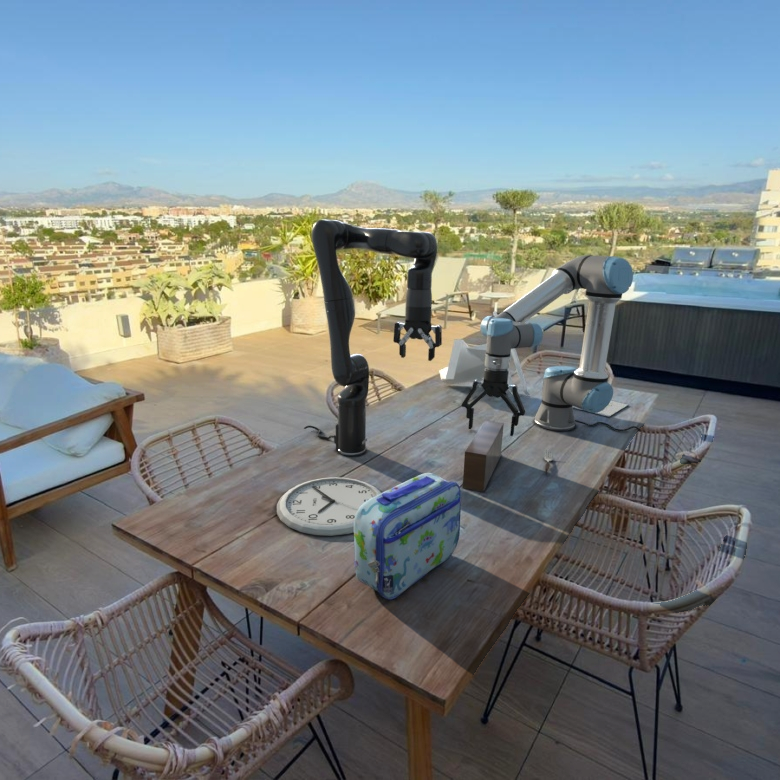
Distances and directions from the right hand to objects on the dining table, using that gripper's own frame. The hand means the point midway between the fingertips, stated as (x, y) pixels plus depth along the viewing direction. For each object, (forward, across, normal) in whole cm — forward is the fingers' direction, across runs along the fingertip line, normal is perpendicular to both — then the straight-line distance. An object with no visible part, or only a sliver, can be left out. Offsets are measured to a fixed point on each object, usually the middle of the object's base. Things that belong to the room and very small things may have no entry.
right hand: (490, 431), depth 171 cm
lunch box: (+10, -4, -67) cm, 68 cm away
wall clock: (+11, -33, -48) cm, 59 cm away
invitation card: (+9, +34, +73) cm, 81 cm away
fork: (+10, +19, +2) cm, 21 cm away
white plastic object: (+9, -19, +71) cm, 74 cm away
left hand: (-26, -21, -17) cm, 37 cm away
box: (+10, 0, -10) cm, 14 cm away
